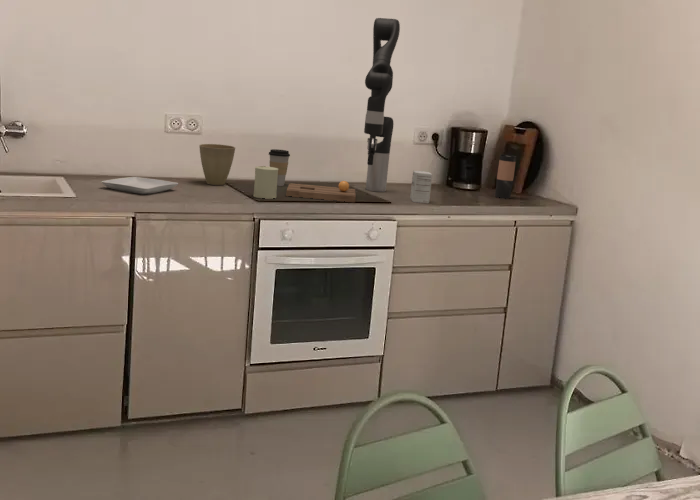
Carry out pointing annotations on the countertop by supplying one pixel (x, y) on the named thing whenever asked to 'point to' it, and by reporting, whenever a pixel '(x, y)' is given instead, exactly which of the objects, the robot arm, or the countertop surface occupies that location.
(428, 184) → the supplement box
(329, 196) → the wooden cutting board
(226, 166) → the plant pot
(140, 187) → the salad plate
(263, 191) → the can
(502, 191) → the travel mug
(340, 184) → the ball
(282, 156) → the coffee cup
